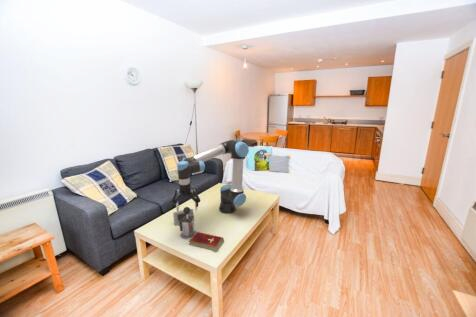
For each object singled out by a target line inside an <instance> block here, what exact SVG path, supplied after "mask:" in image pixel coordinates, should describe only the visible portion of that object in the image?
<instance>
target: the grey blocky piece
mask: <svg viewBox="0 0 476 317" xmlns="http://www.w3.org/2000/svg"><path fill="white" fill-rule="evenodd" d="M193 218H194V219H195V215H194V216H188V219H187V217H186V216H184V217H183V218H182V220H180V221H179V223H180V225H179V231H180V232H183V236H184V237H192V236H193V235H194V230H195V220H194V221H193Z"/></svg>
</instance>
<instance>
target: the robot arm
mask: <svg viewBox="0 0 476 317" xmlns="http://www.w3.org/2000/svg"><path fill="white" fill-rule="evenodd" d="M249 152H250V151H249V146H248V144H247V143H246V142H243V141H240V140H235V139H229V140H225V141H224V142H221V143H219V144H218V145H216V146H214V147H212V148H210V149H207V150H204V151H203V152H200V153H197V154H195V155H192V156H189V157H184V158H182V160H181V161H178V162H177V163H176V166H177V176H178V178H177V179H178V185H179V186H178V187H179V189H178V188H176V189H175V191H174V196H173V198H172V200H171V203H174V207H175V209H176V212H178V211H180V206H179V205H180V204H179V200H180V199H181V197H182V196H183V197H189V198H190V199H191V200H193V202H194V207H195V208H194V211H195V212H198V208H199V203H200V202H201V198H200V197H199V195H198V193H197V192H196V189H195V188H194V189H191V181H190V180H191V178H190V175H192V174H195V173H201V172H203V171H205V170H206V165H205V162H207V161H210V160H211V159H215V158H216V157H219V156H221V155H223V156H224V155H226V154H230V158H231V159H232V170H231V171H232V173H231V176H232V177H231V184H224V185H221V186H220V189H219V190H220V191H219V192H220V203H219V207H218V210H219V212H221V214H231V213H234V212H236V210H237V209H236V208H237V207H241V206H243V205H244V204H245V202H246V201H247V195H246V194H245V191H244V188H243V179H244V178H243V174H244V161H245V159H246V157H247V156H248V154H249ZM178 194H179V195H178ZM177 196H178V197H177Z"/></svg>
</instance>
